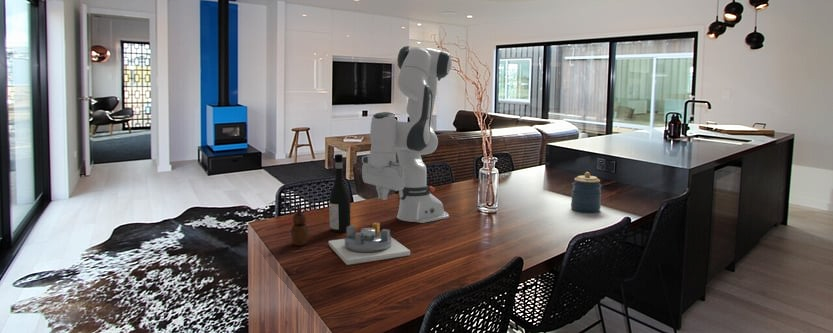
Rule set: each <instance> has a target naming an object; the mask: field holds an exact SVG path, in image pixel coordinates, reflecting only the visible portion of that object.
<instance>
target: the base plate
mask: <svg viewBox="0 0 833 333" xmlns="http://www.w3.org/2000/svg"><path fill="white" fill-rule="evenodd" d="M328 246H329V247H330V248H331V249H332V250H333V252H335V253H336V255H337V256H338V257H339V258H340V260H342V261H343V262H344V263H345V265H347V266H348V265H349V266H350V265H356V264H361V263H368V262H374V261H375V262H376V261H381V260H389V259H393V258H400V257H407V256H411V250H410V249H409V248H407V247H406V246H404V245H403V244H401V243H400V242H399V241H398V240H396V239H395V238H393V237H392V236H391V247H390V248H388V249H386V250H384V251H380V252H373V253H359V252H353V251H350V250H348V249H346V248H345V238H340V239H331V240H328Z"/></svg>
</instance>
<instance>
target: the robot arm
mask: <svg viewBox="0 0 833 333" xmlns="http://www.w3.org/2000/svg"><path fill="white" fill-rule="evenodd" d="M396 58H397V60H396V61H397V67H398V69H399V70H400V71H399V73H398V76H397V87H398V89H399V90H400V92H401V93H402V95H404V96H406V97H407V98H408V99H407V103H406V113H407V115H408V118H409V121H399V120H397V119H396V118H395V114H394V113H393V112H389V111H383V112H377V113H375V114H373V115H372V116H371V122H370V133H369V134H370V135H369V137H370V139H369V140H370V142H371V143H370V144H371V145H370V146H371V147H370V152H369V154H367V155H364V156H362V157H361V162H362V167H361V175H362V176H361V178H362V181H363V182H364V184H369V185H373V186H375V189H376V193H377V195H378V196H377V198H378V199H380V200H382V201H387V200H388V194H389V192H390V191H391V190H392V191H395V192H398V191H399V192H398V193H399V207H398V212H397V215H396V218H397V219H398V220H399V221H404V222H410V223H420V224H424V223H429V222H434V221H439V220H444V219H448V218H450V215H449V213H448V212H447V211H445V210H444V205H443V202H442V201H441V200H440V199H438V198H437V197H436V196H434V195H433V194H432V192H434V191H435V187H434V186H429V185H427V177H428V176H427V174H428V173H427V166H426V164H425V162H423V158H422V156H424V155H426V156H427V155H429V154H433V153H434V152H435V151H436V150H437V148H438V145H439V138H438V136H437V134H436V133H435V130H434V122H433V112H434V107H435V102H436V96H437V88H438V86H437V85H438V82H439V81H441V79H445V77H447V75H449V74H450V71H451V70H452V67H453V66H452V64H453V61H452V55H451V54H450V53H449V52H448V51H446V50H439V49H436V48H433V47H422V46H421V47H420V46H412V45H405V46H403V47H402V48H401V49H400V50H399V52H398V54H397V57H396ZM397 159H398V162H397Z"/></svg>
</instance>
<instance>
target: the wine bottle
mask: <svg viewBox="0 0 833 333" xmlns="http://www.w3.org/2000/svg"><path fill="white" fill-rule="evenodd" d="M343 157H344V156H343V154H341V153H339V154H338V153H337V154H334V166H335V168H334V170H335V171H334V172H335V179H334V183H333V187H332V189H331V191H330V194H329V200H328V206H329V207H328V209H329V212H328V214H329V230H330V231H332V232H333V233H347V226H349V225H350V226H351V200H350V195H349V193H348V192H349V191H348V189H347V187H346V185H345V182H344V177H343V159H344V158H343Z"/></svg>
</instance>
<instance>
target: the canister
mask: <svg viewBox="0 0 833 333" xmlns="http://www.w3.org/2000/svg"><path fill="white" fill-rule="evenodd" d="M600 182H601V179H599V178H598V177H597V176H594V175H591V173H590V172H589V171H586V172H584V175H578V176H576V177H574V182H572V183H571V185H572V190H571V203H570V208H571V210H572V211H575V212H579V213H587V214H590V213H592V214H595V213H598V212H600V211H601V208H602V207H601V205H602V204H601V199H602V191H601V188H602V186H603V185H602V184H601V183H600Z"/></svg>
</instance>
